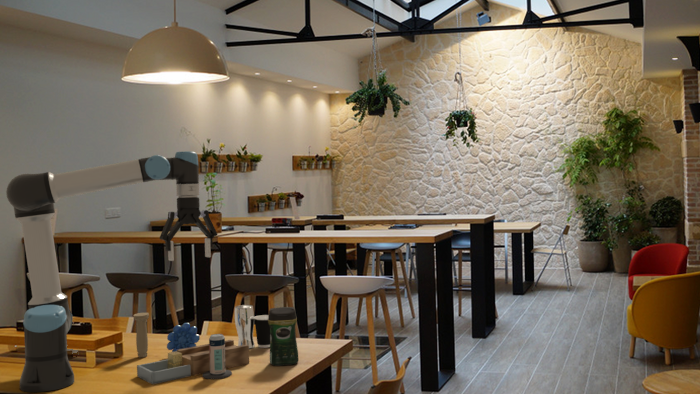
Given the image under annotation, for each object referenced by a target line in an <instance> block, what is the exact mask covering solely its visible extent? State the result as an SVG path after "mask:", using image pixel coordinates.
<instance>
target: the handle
mask: <svg viewBox="0 0 700 394" xmlns="http://www.w3.org/2000/svg"><path fill="white" fill-rule="evenodd" d="M149 318H150V314H149V312H138V313H135V314H133V320H135V321H136V336H135V339H136V340H135V342H136V344H135V345H136V353H137V357H138V358H142V359H143V358H146V357H148V350H149V349H148V348H149V339H148V329H147V328H148V327H147V325H148V324H147V320H148V319H149Z"/></svg>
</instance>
